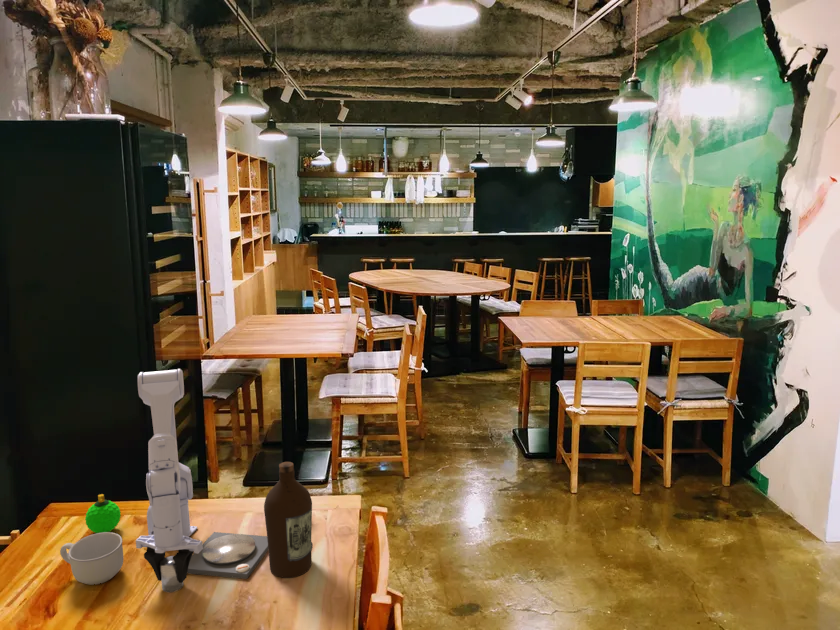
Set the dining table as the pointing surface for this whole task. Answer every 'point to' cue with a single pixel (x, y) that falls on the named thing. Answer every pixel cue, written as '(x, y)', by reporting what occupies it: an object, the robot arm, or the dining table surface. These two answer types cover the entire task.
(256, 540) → the scale base
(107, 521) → the ornament
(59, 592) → the dining table surface
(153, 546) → the robot arm
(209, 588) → the dining table surface
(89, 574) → the teacup
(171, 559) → the cylinder
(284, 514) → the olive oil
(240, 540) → the scale pan
